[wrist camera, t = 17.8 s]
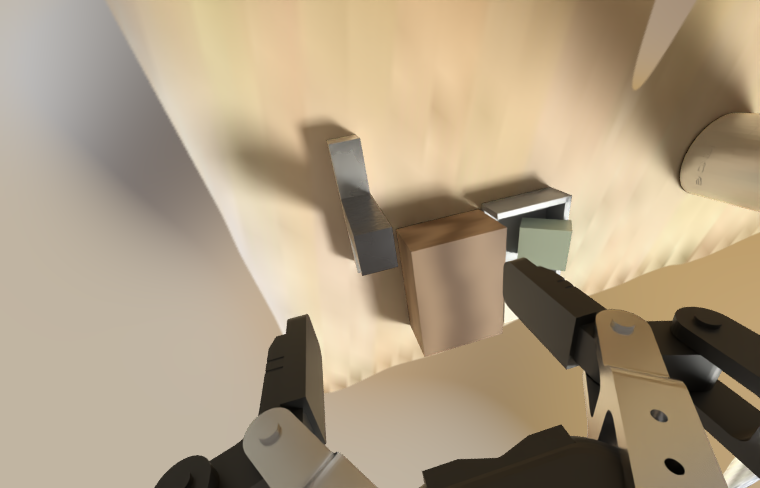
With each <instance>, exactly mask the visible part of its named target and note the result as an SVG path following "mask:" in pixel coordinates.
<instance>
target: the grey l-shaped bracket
mask: <svg viewBox="0 0 760 488" xmlns="http://www.w3.org/2000/svg"><path fill="white" fill-rule="evenodd" d="M326 141H327V145H328V149H329V153H330V158H331V162H332V166H333V171H334V175H335V179H336V184H337V188H338V192H339V197H340V201H341V205H342V210H343V214H344V218H345V222H346V227H347V231H348V235H349V240H350V244H351V248H352V253H353V257H354V261H355V265H356V268H357V271H358V273H360V272H361V273H362V276H363V275H367V274H371V273H375V272H379V271H383V270H387V269H390V268H394V267H398V263H397V257H396V250H395V243H394V237H393V230H392V226H391V225H390V223H389V222H388V220H387V219H386V217H385V215H384V214H383V212H382V211H381V209H380V208H379V206H378V205H377V203H376V202H375V200H374V198H373V197H372V195H371V194H370V191H369V185H368V180H367V174H366V169H365V163H364V158H363V152H362V147H361V141H360V138H359V137H358V136H357V135H356V134H355V135H350V136H345V137H340V138H335V139H330V140H326Z"/></svg>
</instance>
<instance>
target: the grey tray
mask: <svg viewBox="0 0 760 488" xmlns="http://www.w3.org/2000/svg"><path fill="white" fill-rule="evenodd" d="M571 198H572V195H569V194H567V193H564V192H562V191H559V190H556V189H554V188H551V187H549V188H545V189H540V190H536V191H532V192H528V193H524V194H520V195H516V196H512V197H508V198H503V199H499V200H495V201H491V202H487V203H483V204H482V211H483V212H484V213H486V214H487V215H489V216H490V217H492V218H493V219H495V220H496V221H498V222H499V223H501V224H502V225H504V226H505V227H507V238H506V261H505V262H508V261H511V260H515V259H517V255H518V243H519V232H520V225H521V220H522V217H523V218H540V219H558V220H568V218H569V212H570V205H571ZM550 270H552V269H550ZM552 271H554V272H556V273H557V274H559V275H560V273H561V271H560V270H552Z"/></svg>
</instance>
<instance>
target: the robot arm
mask: <svg viewBox="0 0 760 488" xmlns="http://www.w3.org/2000/svg"><path fill="white" fill-rule="evenodd" d="M680 182H681V186H682V187H683V189H684V190H685V191H686V192H688V193H691V194H694V195H698V196H702V197H706V198H709V199H713V200H717V201H720V202H724V203H728V204H731V205H735V206H739V207H742V208H746V209H750V210H754V211H758V212H760V114H758V113H730V114H727V115H724V116H722V117H720V118H718V119H717V120H715V121H714V122H712V123H711V124H710V125H709V126H708V127H706V128H705V129H704V130H703V131H702V132H701V133H700V135H699V136H698V137H697V138H696V139H695V141H694V142H693V143H692V145H691V146H690V148H689V150H688V152H687V153H686V155H685V158H684V160H683V163H682V166H681V171H680ZM503 298H504V301H505V303H506V305H507V306H508V307H509V309H510V310H511V311H512V312H513V313H514V314H515V315H516V316H517V317H518V318H519V319H520V320H521V321H522V322H523V323H524V325H525V326H526V327H527V328H528V329H529V330H530V331H531V332H532V333H533V334H534V335H535V336H536V337H537V338H538V339H539V341H540V342H541V343H542V344H543V345H544V346H545V347H546V348H547V349H548V350H549V351H550V352H551V353H552V355H553V356H554V357H555V358H556V359H557V360H558V361H559V362H560V363H561V364H562V365H563V366H564V367H565V368H566V369H570V368H573V367H576V366H580V367H581V368H582V369H583V370H584V371H583V385H584V394H585V403H586V412H587V422H588V436H587V438H586V437H578V436H570V435H569V434H568V433H567V431H566V430H565V429H564V427H563V426H562V425H558V426H555V427H552V428H549V429H547V430H543V431H540V432H538V433H535V434H532V435H529V436H527V437H526V438H525V439H523V440H522V441H521V442H520V443H518V444H517V445H516V446H514V447H513V448H512V449H511V450H509V451H508V452H507V453H505V454H504V455H503V456H501V457H499V458H484V459H457V460H454V461H451V462H449V463H446V464H443V465H440V466H437V467H434V468H431V469H428V470H425V471H422V473H423V478H424V483H425V484H424V485H422V486H421V487H419V488H728V486H727V484H726V481H725V479H724V476H723V474H722V472H721V469H720V467H719V464H718V462H717V459H716V457H715V455H714V453H713V450H712V448H711V445H710V442H709V440H708V438H707V435H706V433H705V431H704V429H705V430H707V431H708V432H709V433H710V434H711V435H712V436H713V437H714V438H715V439H717V440H718V441H719V442H720V443H721V444H722V445H723V446H724V447H725V448H726V449H728V450H729V451H730V452H731V453H732V454H733V455H734V456H735V457H736V458H737V459H739V460H740V461H741V462H742V463H743V464H744V465H745V466H746V467H747V468H749V469H750V470H751V471H752V472H753V473H754V474H755V475H756V476H757V477H759V478H760V411H759V410H758V409H756V408H755V407H754V406H752V405H751V404H750V403H748V402H747V401H746V400H744V399H743V398H742V397H740V396H739V395H738V394H736V393H735V392H734V391H732V390H731V389H730V388H728V387H727V386H726V385H724V384H723V383H722V382H720V381H719V380H718V377H719V375H720V373H721V371H723V372H725V373H726V374H728V375H729V376H730V377H732V378H733V379H735V380H736V381H738V382H739V383H740V384H742V385H743V386H744V387H746V388H747V389H749V390H750V391H751V392H753V393H755V394H756V395H757V396H758V397H759V398H760V335H758V334H757V333H755V332H753V331H751V330H750V329H748V328H746V327H744V326H742V325H741V324H739V323H737V322H736V321H734V320H732V319H730V318H729V317H727V316H725V315H723V314H720V313H718V312H715V311H712V310H709V309H705V308H699V307H684V308H681V309H679V310H677V311H676V313H675V315H674V318H673V321H649V322H648V321H645V320H643V319H642V318H641V317H639V316H637V315H635V314H633V313H630V312H627V311H623V310H616V309H608V310H607V309H605V308H604V307H603V306H601V305H600V304H599V303H597V302H596V301H594V300H593V299H592V298H590V297H589V296H588V295H586V294H585V293H583V292H582V291H581V290H579V289H578V288H577V287H574V286H573V285H572V284H571V283H570V282H568V281H567V280H566V281H565V279H564V278H563V277H561V276H560V275H559V274H557V273H556V272H554V271H552V270H550V269H547V268H544V267H542V266H538V267H537V266H536V265H535V264H533V263H532V262H531V261H529V260H528V259H527V258H524V257H523V258H519V259H515V260H511V261H508V262H505V263H504V266H503ZM325 444H326V431H325V410H324V391H323V371H322V356H321V350H320V346H319V343H318V340H317V337H316V334H315V331H314V329H313V326H312V323H311V320H310V317H309V315H308V314H306V315H302V316H298V317H295V318H291V319H288V320H287V329H286V334H284V335H281V336H277V337H276V338H275V340H274V341H273V343H272V345H271V346H270V348H269V351H268V358H267V364H266V374H265V377H264V383H263V390H262V396H261V403H260V409H259V415H258V417H257V418H256V419H255V420H254V421H253V422H252V423H251V424H250V426H249V427H248V429H247V431H246V433H245V436H244V438H243V439H242V440H241V441H240V442H239V443H237V444H236V445H235V446H233V447H231V448H230V449H228V450H227V451H225V452H223V453H222V454H220V455H219V456H217V457H215V458H214V459H212V460H211V461H208V459H207V458H205V457H203V456H199V455H196V456H191V457H188V458H185V459H183V460H181V461H180V462H178V463H177V464H176V465H174V466H173V467H171V468H170V469H169V470H168V471H167V472H166V473H165V474H164V475H163V477H162V478H161V479H160V480H159V482H158V483H157V485H156V486H155V488H377V487H376V486H375V485H374V484H373V483H372V482H371V481H370V480H369V479H368V478H367V477H366V476H365V475H364V474H363V473H362V472H361V471H359V470H358V469H357V468H356V467H355V466H354V465H353V464H352V463H351V462H350V461H349V460H348V459H347V458H346V457H345V456H343V455H342V454H341V453H339V452H336V453H333V452H331V451H330V450H329V449H328V448H327V447H326V446H325Z"/></svg>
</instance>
